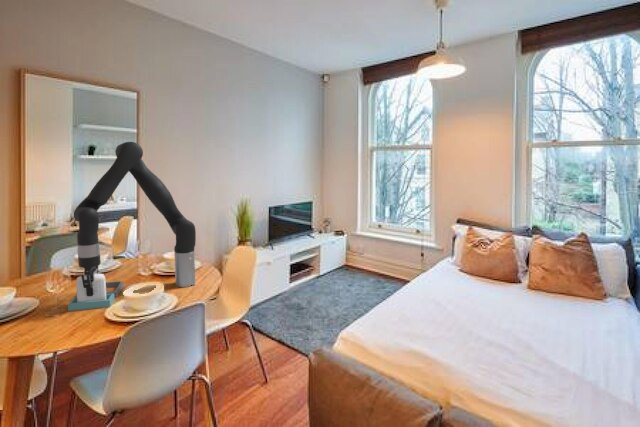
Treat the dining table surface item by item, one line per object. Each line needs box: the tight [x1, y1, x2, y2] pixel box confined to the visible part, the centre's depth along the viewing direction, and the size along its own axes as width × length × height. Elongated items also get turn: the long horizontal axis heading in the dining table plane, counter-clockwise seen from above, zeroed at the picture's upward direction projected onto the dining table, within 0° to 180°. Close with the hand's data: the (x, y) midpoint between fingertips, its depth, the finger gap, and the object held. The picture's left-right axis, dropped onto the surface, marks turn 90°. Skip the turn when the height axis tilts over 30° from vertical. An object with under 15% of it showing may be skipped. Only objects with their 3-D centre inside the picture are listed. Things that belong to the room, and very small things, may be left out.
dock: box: [67, 293, 116, 312], centre depth 139 cm, size 15×8×3 cm, turn 110°
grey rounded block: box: [75, 273, 107, 303], centre depth 138 cm, size 10×4×12 cm, turn 123°
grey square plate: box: [106, 280, 124, 298], centre depth 152 cm, size 15×15×2 cm
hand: (92, 293), depth 139 cm, fingers closed on grey rounded block, 5 cm apart
